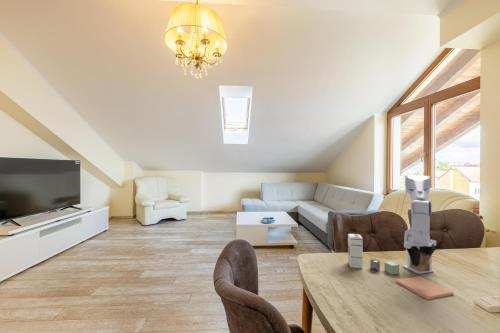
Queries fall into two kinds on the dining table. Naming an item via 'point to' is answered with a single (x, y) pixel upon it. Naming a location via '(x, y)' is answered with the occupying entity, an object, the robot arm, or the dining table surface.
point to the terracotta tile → (424, 287)
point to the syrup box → (355, 251)
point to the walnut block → (422, 263)
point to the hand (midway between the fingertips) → (419, 264)
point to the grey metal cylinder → (375, 265)
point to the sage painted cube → (391, 267)
